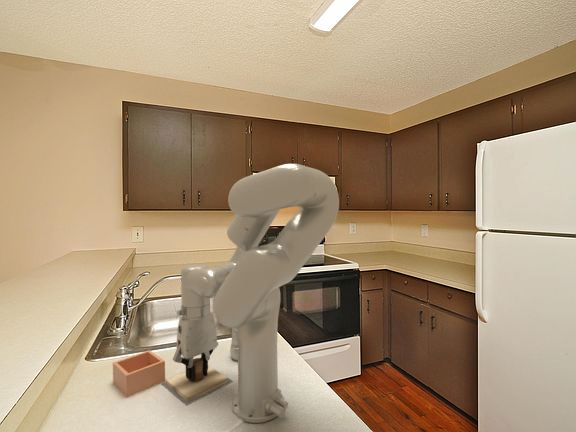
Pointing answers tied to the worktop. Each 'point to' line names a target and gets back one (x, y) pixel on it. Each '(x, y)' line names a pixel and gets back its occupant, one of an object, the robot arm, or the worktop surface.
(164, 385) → the mat
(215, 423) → the worktop surface
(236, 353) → the plastic bottle
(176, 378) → the lid
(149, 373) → the pink open storage bin
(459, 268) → the worktop surface
